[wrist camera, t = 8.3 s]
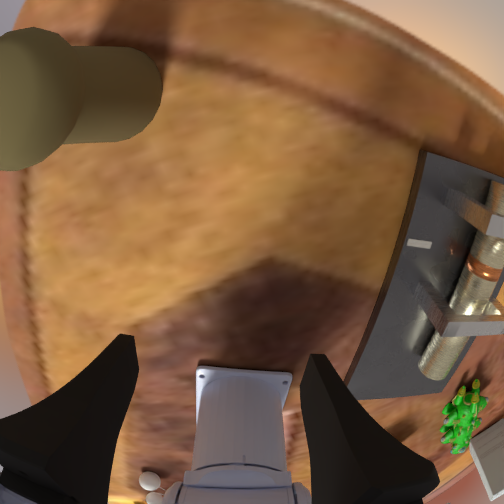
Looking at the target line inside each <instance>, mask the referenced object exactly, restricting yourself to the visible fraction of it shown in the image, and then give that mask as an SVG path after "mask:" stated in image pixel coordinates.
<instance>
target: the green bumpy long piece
mask: <svg viewBox="0 0 504 504" xmlns="http://www.w3.org/2000/svg"><path fill="white" fill-rule="evenodd" d="M479 387H480V382H479V380H478V379H475V380H474V382H473V384H472V390H471V391H470V392H466V387H465V386H462V387H461V388H460V389H459V390H458V394H457V395H456V396H455V398H454V399H453V400H452V403H448V404H447V405H446V406H445V408H444V409H443V411H442V413H443V414H445V415H447V414H449V415H448V416H447V417H446V418H445V420H444V425H443V426H442V427H441V429H440V432H447V431H448V430H449V429H450V430H449V431H448V432H447V433H446V434H445V435H444V436H443V437H442V438H441V443H443V444H446V443H450V442H452V443H451V444H452V446H451V447H453V448H452V450H451V451H450V452H451V453H452V454H458V453H463V452H465V450H466V448H467V447H468V445H469V444H470V439H471V438H472V436H471V433H472V432H473V431H474V430H475V429H476V428H477V427H478V426H479V425H480V424H481V421H482V418H477V414H478V412H480V411H481V410H482V409H483V408H484V407H485V406H486V405H487V402H488V397H483V396H479V394H480V388H479ZM465 392H466V393H465ZM451 428H452V429H451ZM469 438H470V439H469Z"/></svg>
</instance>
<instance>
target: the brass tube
mask: <svg viewBox="0 0 504 504" xmlns="http://www.w3.org/2000/svg"><path fill="white" fill-rule="evenodd" d="M485 206H487V207H488V208H490V209H492V210H493V211H495V212H496V213H500V214H503V215H504V184H502V183H499V182H497V181H494V180H492V181H491V185H490V189H489V193H488V196H487V200H486V203H485ZM503 268H504V239H503V238H499V237H494V236H490V235H485V234H484V233H483V232H481V231H480V230H479V229H477V232H476V235H475V238H474V241H473V244H472V247H471V249H470V252H469V254H468V257H467V260H466V262H465V265H464V268H463V270H462V273H461V275H460V278H459V280H458V283H457V285H456V287H455V290H454V292H453V294H452V296H451V299H450V301H449V303H448V304H449V305H450V307H451V308H452V309H453V311H454V312H455V313H456V314H457V315H482V313H483V311H484V309H485V307H486V305H487V303H488V301H489V299H490V297H491V295H492V293H493V290H494V288H495V286H496V284H497V281H498V279H499V277H500V275H501V272H502V270H503ZM469 338H470V336H462V337H441V336H440V335H439V333H438V332H437V330H435V332H434V334H433V336H432V338H431V340H430V342H429V344H428V346H427V347H426V349H425V351H424V353H423V355H422V357H421V358H420V360H419V362H418V366H419V369H420V371H421V372H422V373H423V374H424V375H425V376H426V377H428V378H430V379H432V380H443V379H444V378H445V377H446V376H447V374H448V373H449V371H450V370H451V368H452V366H453V365H454V363H455V362H456V360H457V358H458V357H459V355H460V353H461V352H462V350H463V348H464V346H465V345H466V343H467V341H468V339H469Z"/></svg>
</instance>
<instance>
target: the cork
mask: <svg viewBox="0 0 504 504" xmlns="http://www.w3.org/2000/svg"><path fill="white" fill-rule="evenodd" d="M162 90H163V89H162V82H161V75H160V73H159V71H158V69H157V67H156V65H155V63H154V61H153V60H152V59H151V58H149V57H148V56H147V55H146V54H145V53H144V52H142V51H139V50H136V49H134V48H131V47H114V46H71V45H70V44H69V43H68V42H67V41H66V40H64V39H63V38H62V37H61V36H60V35H59V34H58V33H54V32H51V31H47V30H44V29H40V28H36V27H30V28H25V29H19V30H15V31H10V32H7V33H5V34H4V35H2V36H1V37H0V170H2V171H18V170H21V169H24V168H27V167H30V166H33V165H35V164H37V163H40V162H42V161H43V160H44V159H46V158H47V157H48V156H49V155H50V154H52V153H53V152H54V151H55V150H57V149H58V148H59V147H60V146H61V145H62V144H77V143H99V142H117V141H122V140H126V139H130V138H131V137H133V136H135V135H136V134H138V133H140V132H141V131H143V130H144V128H145V127H146V126H147V125H148V124H149V123H150V122H151V121H152V120H153V118H154V116H155V114H156V112H157V110H158V108H159V106H160V101H161V96H162Z"/></svg>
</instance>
